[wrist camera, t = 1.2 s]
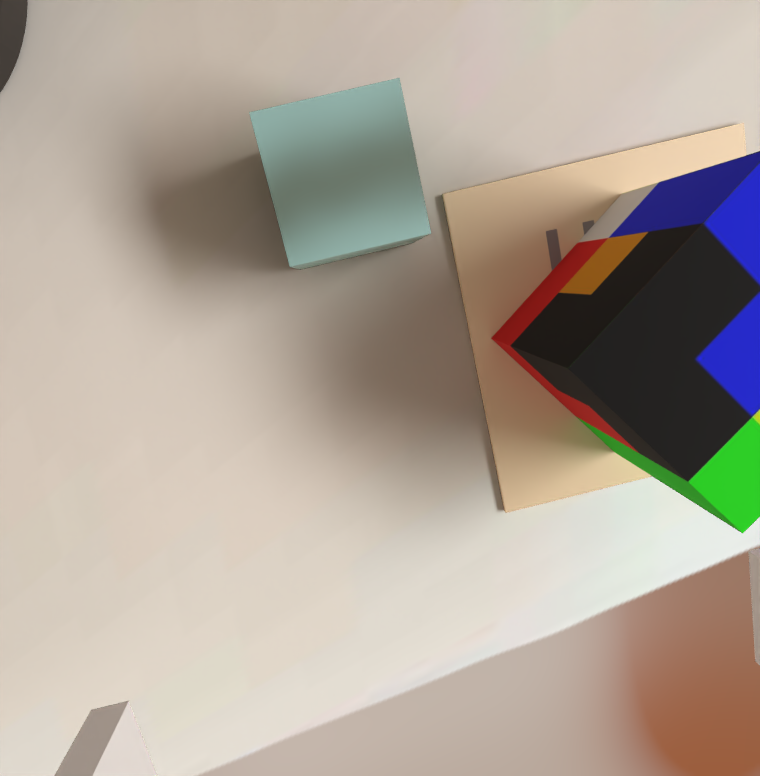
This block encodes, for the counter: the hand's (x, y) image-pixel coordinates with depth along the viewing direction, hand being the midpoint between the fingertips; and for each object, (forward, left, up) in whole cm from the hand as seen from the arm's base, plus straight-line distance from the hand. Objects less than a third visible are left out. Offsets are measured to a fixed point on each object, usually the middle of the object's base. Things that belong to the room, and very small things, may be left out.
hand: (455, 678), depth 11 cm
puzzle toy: (-2, +14, -19) cm, 24 cm away
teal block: (-12, +1, -19) cm, 23 cm away
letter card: (-2, +14, -19) cm, 24 cm away
